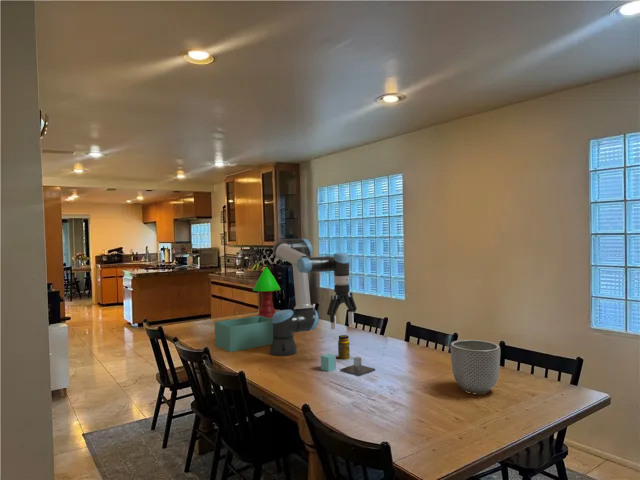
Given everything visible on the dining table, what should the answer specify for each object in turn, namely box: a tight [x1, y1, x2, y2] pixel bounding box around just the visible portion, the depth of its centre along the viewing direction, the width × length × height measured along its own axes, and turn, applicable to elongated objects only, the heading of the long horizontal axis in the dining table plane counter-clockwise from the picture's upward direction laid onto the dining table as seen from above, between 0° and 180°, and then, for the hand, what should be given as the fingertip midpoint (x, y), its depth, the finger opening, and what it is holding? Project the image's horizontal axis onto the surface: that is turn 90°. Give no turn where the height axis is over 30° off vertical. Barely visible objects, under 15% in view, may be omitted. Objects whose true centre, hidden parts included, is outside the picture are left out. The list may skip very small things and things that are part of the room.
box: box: [214, 315, 273, 353], centre depth 272 cm, size 21×32×14 cm, turn 127°
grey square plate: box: [339, 356, 376, 377], centre depth 215 cm, size 12×12×6 cm
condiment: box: [336, 334, 353, 362], centre depth 237 cm, size 7×8×12 cm
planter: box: [449, 339, 501, 395], centre depth 185 cm, size 20×20×19 cm
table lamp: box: [252, 266, 281, 319], centre depth 314 cm, size 20×20×45 cm
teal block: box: [320, 353, 337, 372], centre depth 218 cm, size 5×5×7 cm
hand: (342, 326), depth 221 cm, fingers open, 13 cm apart
